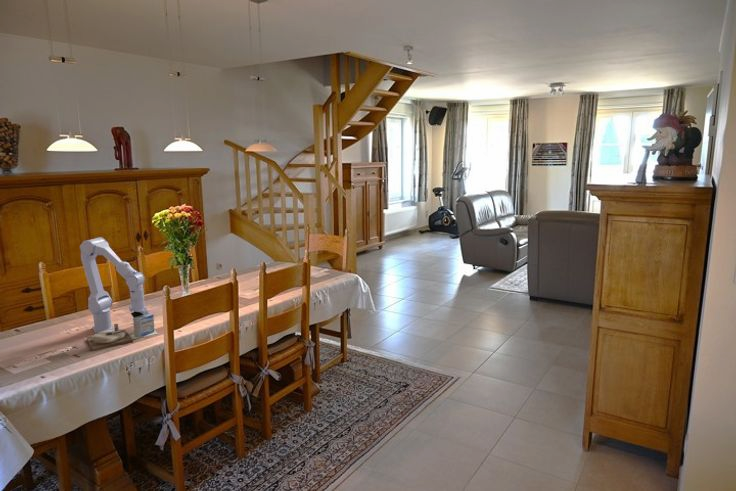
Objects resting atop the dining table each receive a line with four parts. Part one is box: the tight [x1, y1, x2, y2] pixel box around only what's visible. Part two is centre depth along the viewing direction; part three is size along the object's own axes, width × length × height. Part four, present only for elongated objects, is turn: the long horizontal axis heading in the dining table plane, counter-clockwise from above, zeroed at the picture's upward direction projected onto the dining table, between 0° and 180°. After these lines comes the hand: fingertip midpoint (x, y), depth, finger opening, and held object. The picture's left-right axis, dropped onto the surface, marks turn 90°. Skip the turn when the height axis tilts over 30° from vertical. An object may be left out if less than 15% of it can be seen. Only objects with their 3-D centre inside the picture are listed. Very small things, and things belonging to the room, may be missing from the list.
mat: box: [129, 329, 158, 340], centre depth 229 cm, size 7×11×1 cm, turn 127°
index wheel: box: [92, 323, 125, 343], centre depth 220 cm, size 13×13×5 cm
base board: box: [86, 329, 134, 352], centre depth 221 cm, size 16×16×1 cm
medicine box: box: [132, 312, 155, 338], centre depth 228 cm, size 8×4×9 cm, turn 156°
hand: (140, 326), depth 232 cm, fingers closed
